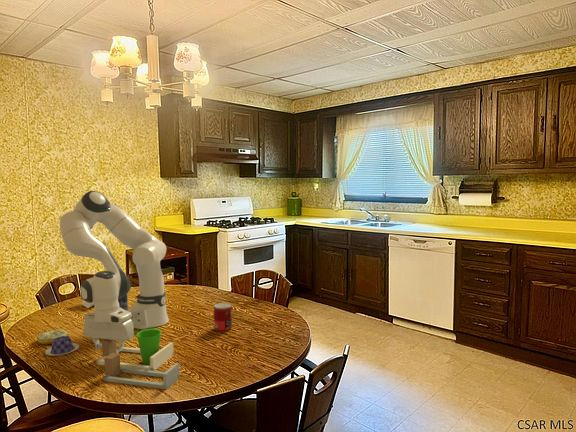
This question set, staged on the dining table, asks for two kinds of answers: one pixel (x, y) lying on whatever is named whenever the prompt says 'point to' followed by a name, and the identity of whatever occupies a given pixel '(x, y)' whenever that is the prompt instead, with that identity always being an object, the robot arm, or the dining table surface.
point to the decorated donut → (50, 336)
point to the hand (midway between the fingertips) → (109, 349)
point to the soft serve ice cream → (87, 304)
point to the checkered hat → (61, 346)
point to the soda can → (123, 303)
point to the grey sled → (114, 369)
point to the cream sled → (155, 359)
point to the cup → (148, 343)
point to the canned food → (222, 317)
